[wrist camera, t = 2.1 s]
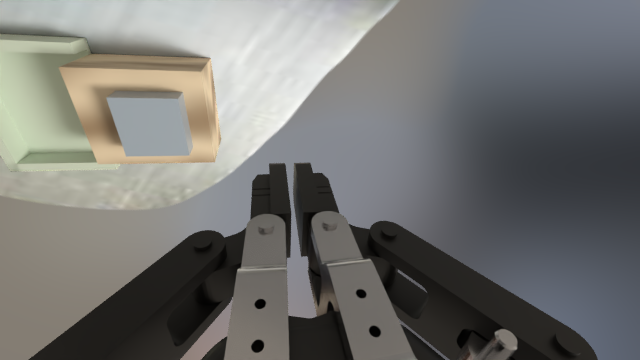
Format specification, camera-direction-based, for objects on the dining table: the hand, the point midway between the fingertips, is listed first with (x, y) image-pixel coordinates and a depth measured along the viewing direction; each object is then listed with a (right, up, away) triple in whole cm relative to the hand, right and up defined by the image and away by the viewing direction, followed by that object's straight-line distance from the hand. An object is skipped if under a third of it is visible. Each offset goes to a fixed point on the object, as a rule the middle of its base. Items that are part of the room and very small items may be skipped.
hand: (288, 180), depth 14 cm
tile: (-15, +6, +16) cm, 23 cm away
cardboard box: (-17, +9, +21) cm, 29 cm away
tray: (-28, +9, +19) cm, 35 cm away
